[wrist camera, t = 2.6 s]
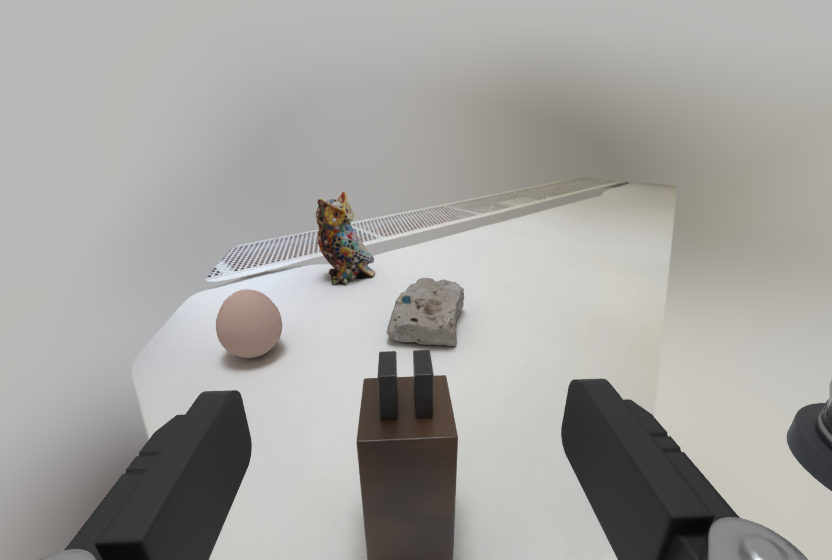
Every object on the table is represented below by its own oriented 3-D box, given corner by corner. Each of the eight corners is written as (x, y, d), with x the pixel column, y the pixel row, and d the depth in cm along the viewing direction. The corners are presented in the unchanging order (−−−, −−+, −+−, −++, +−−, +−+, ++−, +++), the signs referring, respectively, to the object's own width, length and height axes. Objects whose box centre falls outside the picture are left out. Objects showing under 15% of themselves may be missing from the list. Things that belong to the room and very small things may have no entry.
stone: (450, 338, 45) (373, 314, 48) (447, 372, 48) (375, 348, 51) (482, 277, 55) (416, 261, 58) (478, 309, 58) (416, 292, 61)
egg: (251, 334, 52) (239, 276, 49) (297, 342, 50) (288, 283, 47) (209, 364, 46) (193, 300, 43) (260, 376, 44) (247, 309, 40)
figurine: (366, 288, 65) (360, 198, 59) (315, 285, 67) (304, 197, 61) (378, 269, 73) (374, 188, 67) (332, 267, 74) (324, 187, 68)
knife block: (443, 492, 30) (446, 335, 25) (452, 567, 25) (459, 391, 20) (372, 496, 30) (360, 338, 24) (368, 572, 25) (352, 396, 19)
